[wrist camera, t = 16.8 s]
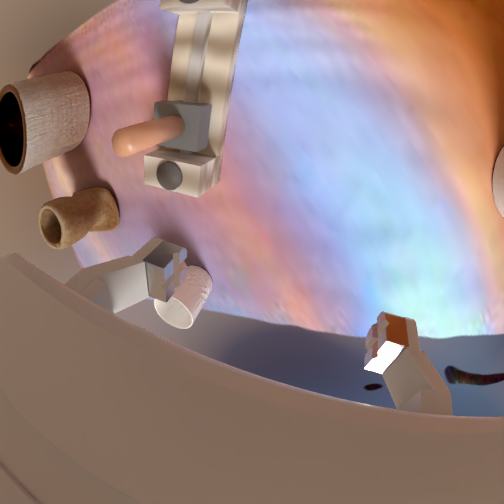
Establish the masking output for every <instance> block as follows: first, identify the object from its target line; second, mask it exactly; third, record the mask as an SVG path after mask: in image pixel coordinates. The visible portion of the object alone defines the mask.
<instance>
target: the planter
mask: <svg viewBox="0 0 504 504" xmlns="http://www.w3.org/2000/svg"><path fill="white" fill-rule="evenodd" d="M89 120H90V98H89V94H88V90H87V87H86V85H85V83H84V81H83V80H82V78H81V77H80V76H79V75H78V74H76V73H74V72H69V71H66V72H58V73H53V74H48V75H43V76H39V77H34V78H30V79H26V80H22V81H18V82H14V83H11V84H7V85H5V86H4V87H3V88H2V89H1V91H0V160H1V162H2V163H3V165H4V167H5V168H6V170H7V171H8V172H9V173H11V174H13V175H16V174H19V173H21V172H23V171H25V170H27V169H29V168H31V167H33V166H35V165H37V164H40V163H42V162H44V161H47V160H49V159H51V158H54V157H56V156H59V155H61V154H63V153H66V152H68V151H71V150H73V149H74V148H76V147H77V146H78V145H79V144H80V143H81V142H82V140H83V139H84V137H85V135H86V132H87V129H88V125H89Z"/></svg>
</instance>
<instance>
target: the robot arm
mask: <svg viewBox="0 0 504 504" xmlns="http://www.w3.org/2000/svg"><path fill="white" fill-rule="evenodd" d="M493 195H494V200H495V203H496V206H497V208H498V210H499V212H500V214H501V215H502V216H503V217H504V147H503V148H502V150H501V151H500V153H499V155H498V158H497V160H496V163H495V167H494V172H493ZM186 257H187V250H186V248H184V247H181V246H178V245H176V244H173V243H170V242H168V241H164V240H162V239H159V238H156V237H155V238H152V239H151V240H150V241H149V242H147V243H146V244H145V245H144V246H143V247H142V248H141V249H140V250H138V251H137V252H136V253H135V254H134V255H133V256H125V257H122V258H118V259H115V260H111V261H108V262H104V263H101V264H97V265H94V266H90V267H87V268H83V269H81V270H80V271H79V272H78V273H77V274H75V275H74V276H73V277H72V278H71V279H70V280H69V281H68V282H67V283H66V284H62V283H60V282H59V281H57V280H56V279H54V278H53V277H51V276H50V275H48V274H47V273H45V272H44V271H42V270H41V269H39V268H38V267H36V266H35V265H34V264H32V263H31V262H29V261H28V260H26V259H25V258H24V257H22V256H21V255H19V254H16V253H13V254H8V255H5V256H2V257H0V504H504V417H464V416H453V415H452V403H451V394H450V391H449V389H448V387H447V386H446V384H445V383H444V381H443V380H442V379H441V377H440V375H439V374H438V372H437V371H436V369H435V368H434V366H433V365H432V363H431V362H430V361H429V359H428V358H427V356H426V355H425V353H424V352H423V351H421V350H420V348H419V347H420V346H419V340H418V333H417V327H416V322H415V320H413V319H409V318H406V317H401V316H397V315H394V314H391V313H387V312H384V311H382V312H381V313H380V314H379V316H378V317H377V323H376V324H374V325H372V326H371V328H370V330H369V332H368V334H367V337H366V342H365V344H366V345H365V347H366V349H367V350H368V352H367V354H366V355H365V366H364V369H368V370H371V371H375V372H379V373H382V376H383V378H384V380H385V382H386V385H387V387H388V389H389V392H390V394H391V396H392V399H393V401H394V403H395V406H396V408H397V409H391V408H384V407H379V406H373V405H368V404H363V403H358V402H353V401H349V400H344V399H340V398H335V397H331V396H327V395H323V394H319V393H315V392H311V391H307V390H304V389H301V388H297V387H293V386H290V385H286V384H283V383H280V382H277V381H273V380H270V379H267V378H264V377H261V376H258V375H255V374H252V373H249V372H246V371H243V370H240V369H238V368H235V367H232V366H230V365H227V364H224V363H222V362H219V361H216V360H214V359H211V358H209V357H206V356H204V355H201V354H199V353H196V352H194V351H192V350H189V349H187V348H184V347H182V346H180V345H177V344H175V343H173V342H171V341H168V340H166V339H164V338H162V337H160V336H158V335H156V334H153V333H151V332H149V331H147V330H145V329H143V328H141V327H139V326H137V325H135V324H133V323H131V322H129V321H127V320H125V319H123V318H121V317H119V316H118V315H115V314H114V313H116V312H119V311H120V310H123V309H125V308H127V307H129V306H131V305H133V304H135V303H137V302H140V301H141V300H144V299H146V298H148V297H149V296H150V297H153V298H155V299H158V300H160V301H163V302H165V303H167V302H168V300H169V299H170V298H171V296H172V295H173V294H174V288H176V287H178V286H180V285H181V284H182V282H183V281H184V278H185V276H186V272H187V265H186V263H185V261H184V260H185V259H186Z"/></svg>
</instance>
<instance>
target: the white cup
mask: <svg viewBox="0 0 504 504" xmlns="http://www.w3.org/2000/svg"><path fill="white" fill-rule="evenodd" d="M212 285H213V282H212V279H211V276H210V275H209V274H208V273H207V272H206V271H205V270H204V269H202V268H201V267H199V266H194V265H190V266H187V272H186V276H185V278H184V281H183V282H182V284H181V285H180V286H178V287H176V288H174V294H173V295H172V296H171V298H170V299H169V300H168V302H167V303H165V302H163V301H160V300H158V299H155V300H154V307H155V309H156V311H157V313H158V314H159V316H161V318H162V319H163V320H164V321H166V322H167V323H169V324H170V325H172V326H174V327H177V328H181V329H185V328H189V327H191V325H192V324H193V322H194V320H195V319H196V317H197V315H198V313H199V312H200V310H201V308H202V306H203V304H204V302H205V301H206V299H207V296H208V294H209V293H210V291H211V289H212Z"/></svg>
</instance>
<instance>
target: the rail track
mask: <svg viewBox="0 0 504 504" xmlns="http://www.w3.org/2000/svg"><path fill="white" fill-rule="evenodd" d="M247 2H248V0H161V2H160V6H159V9H162V10H166V11H169V12H172V13H176V14H179V20H178V25H177V31H176V37H175V43H174V50H173V57H172V64H171V72H170V80H169V89H168V99H167V100H169V101H176V100H182V101H183V102H192V103H209V104H210V105H212V110H211V118H210V126H209V134H208V143H207V148H205V149H202V150H200V151H198V152H193V151H188V150H182V149H177V148H171V147H165V146H164V147H163V148H160V149H158V150H155V151H153V152H151V153H148V154H146V155H144V184H147V185H151V186H155V187H159V188H163V189H167V190H171V191H175V192H179V193H182V194H186V195H190V196H194V197H199V196H201V195H202V194H203V193H205V192H206V191H207V190H208V189H210V188H211V187H212V186H214V185H215V184H216V183H217V182H219V179H220V171H221V163H222V155H223V147H224V139H225V132H226V125H227V118H228V111H229V104H230V97H231V91H232V85H233V78H234V72H235V66H236V60H237V55H238V49H239V43H240V38H241V32H242V27H243V22H244V17H245V12H246V7H247Z"/></svg>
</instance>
